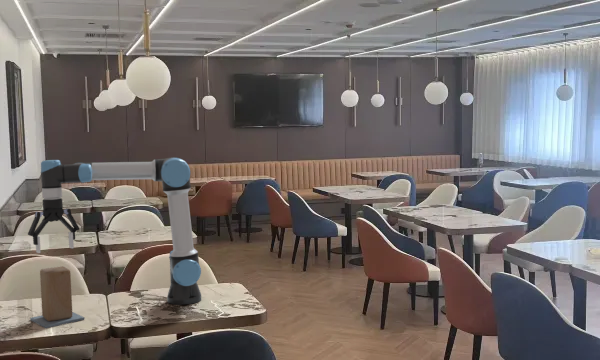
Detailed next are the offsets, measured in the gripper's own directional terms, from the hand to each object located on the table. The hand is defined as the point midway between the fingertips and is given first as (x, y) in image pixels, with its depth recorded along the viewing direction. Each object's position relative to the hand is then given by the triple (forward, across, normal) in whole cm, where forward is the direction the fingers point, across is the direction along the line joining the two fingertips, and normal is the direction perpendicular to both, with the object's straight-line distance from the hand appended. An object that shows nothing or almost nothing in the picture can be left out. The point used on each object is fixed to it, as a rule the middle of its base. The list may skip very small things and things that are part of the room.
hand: (55, 250), depth 269 cm
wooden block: (+28, +1, 0) cm, 28 cm away
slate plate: (+29, +1, 0) cm, 29 cm away
